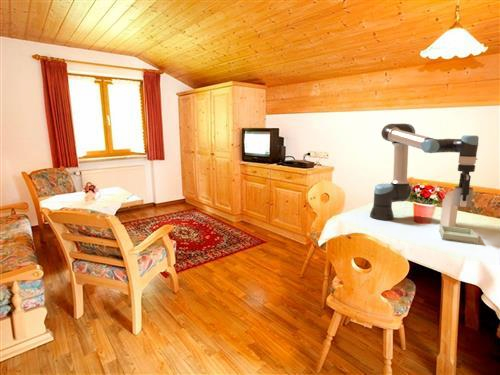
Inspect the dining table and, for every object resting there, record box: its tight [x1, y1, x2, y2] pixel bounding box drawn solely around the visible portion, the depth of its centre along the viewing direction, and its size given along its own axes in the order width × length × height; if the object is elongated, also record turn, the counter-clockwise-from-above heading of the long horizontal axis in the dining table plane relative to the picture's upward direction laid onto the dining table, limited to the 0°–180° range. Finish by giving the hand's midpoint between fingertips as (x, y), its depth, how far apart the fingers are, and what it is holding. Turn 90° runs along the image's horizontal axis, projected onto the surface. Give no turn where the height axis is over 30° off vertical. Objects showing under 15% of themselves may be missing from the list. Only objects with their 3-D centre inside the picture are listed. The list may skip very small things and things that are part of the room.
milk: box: [439, 190, 459, 227], centre depth 186 cm, size 6×6×22 cm
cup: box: [453, 185, 474, 208], centre depth 163 cm, size 8×8×10 cm
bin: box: [438, 224, 479, 245], centre depth 167 cm, size 16×16×4 cm
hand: (461, 204), depth 164 cm, fingers closed on cup, 8 cm apart
